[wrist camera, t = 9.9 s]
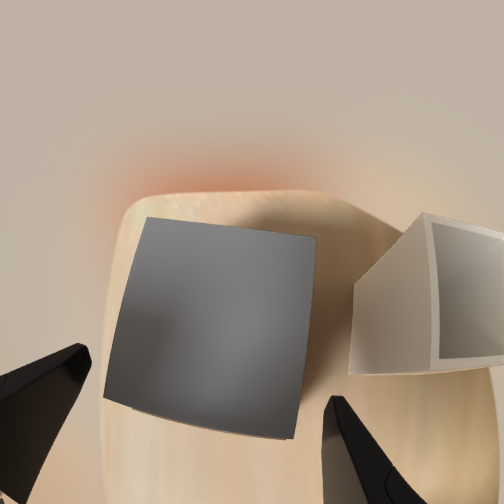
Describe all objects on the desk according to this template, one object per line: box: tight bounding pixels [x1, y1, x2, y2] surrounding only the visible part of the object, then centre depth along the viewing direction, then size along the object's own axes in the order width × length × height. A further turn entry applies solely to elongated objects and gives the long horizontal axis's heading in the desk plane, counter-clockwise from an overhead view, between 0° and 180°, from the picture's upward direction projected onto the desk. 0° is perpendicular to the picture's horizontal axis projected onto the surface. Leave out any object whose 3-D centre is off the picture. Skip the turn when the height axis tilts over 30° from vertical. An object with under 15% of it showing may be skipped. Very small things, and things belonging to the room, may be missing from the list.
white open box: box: [347, 213, 504, 375], centre depth 14 cm, size 6×6×10 cm
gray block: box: [103, 217, 316, 439], centre depth 12 cm, size 8×7×4 cm
